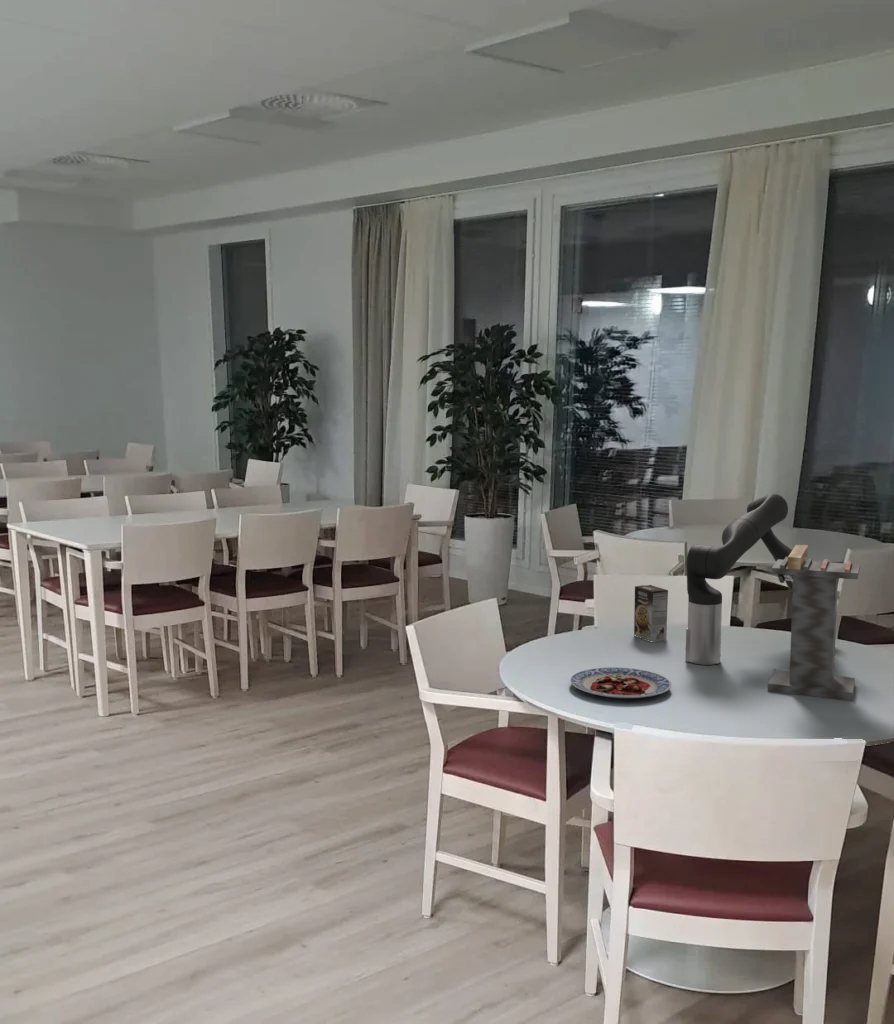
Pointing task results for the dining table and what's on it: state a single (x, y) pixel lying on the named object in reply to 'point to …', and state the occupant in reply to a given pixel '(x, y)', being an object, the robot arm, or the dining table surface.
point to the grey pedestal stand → (814, 631)
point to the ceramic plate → (620, 682)
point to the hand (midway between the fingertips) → (803, 567)
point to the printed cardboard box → (650, 612)
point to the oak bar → (797, 557)
